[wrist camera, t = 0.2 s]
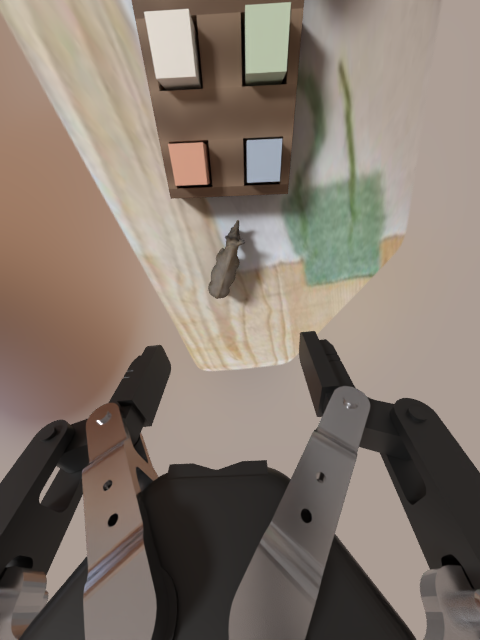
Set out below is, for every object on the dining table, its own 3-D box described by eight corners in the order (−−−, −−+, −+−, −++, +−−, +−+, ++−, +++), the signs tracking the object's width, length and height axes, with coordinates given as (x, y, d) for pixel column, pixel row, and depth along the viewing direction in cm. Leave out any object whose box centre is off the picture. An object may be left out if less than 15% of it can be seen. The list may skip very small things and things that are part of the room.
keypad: (147, 24, 22) (131, -1, 19) (295, 15, 22) (305, -13, 19) (178, 195, 32) (170, 198, 28) (283, 191, 31) (287, 193, 28)
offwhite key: (158, 35, 22) (144, 11, 18) (196, 33, 22) (188, 8, 18) (167, 91, 24) (156, 78, 21) (202, 89, 24) (195, 76, 21)
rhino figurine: (252, 221, 34) (253, 229, 29) (227, 292, 41) (226, 308, 37) (228, 212, 33) (225, 219, 28) (207, 286, 41) (203, 301, 36)
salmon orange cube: (176, 147, 27) (167, 144, 24) (207, 146, 27) (202, 142, 23) (182, 184, 29) (175, 185, 26) (211, 183, 29) (207, 184, 26)
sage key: (244, 30, 21) (245, 5, 18) (283, 28, 21) (290, 2, 18) (245, 87, 24) (245, 73, 20) (280, 85, 24) (286, 71, 20)
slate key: (246, 144, 27) (246, 140, 23) (277, 142, 26) (282, 138, 23) (246, 181, 29) (247, 182, 26) (275, 180, 29) (279, 181, 26)
